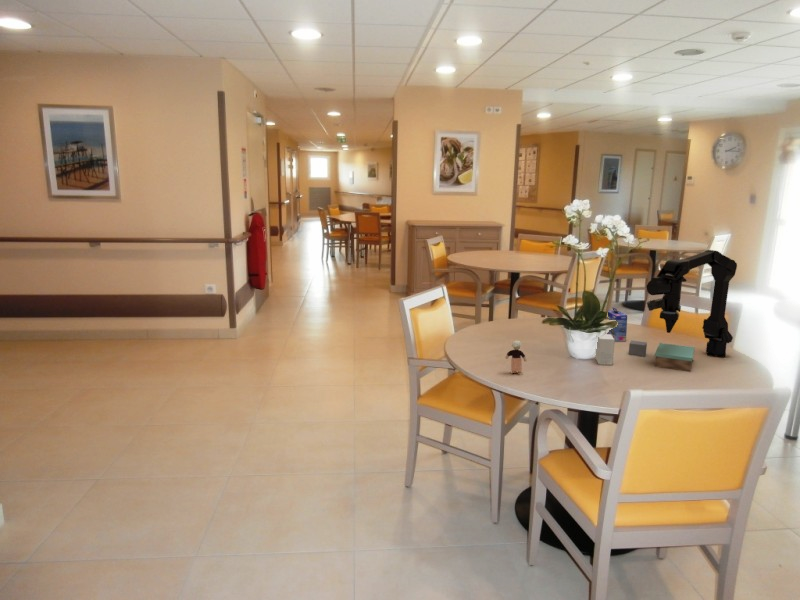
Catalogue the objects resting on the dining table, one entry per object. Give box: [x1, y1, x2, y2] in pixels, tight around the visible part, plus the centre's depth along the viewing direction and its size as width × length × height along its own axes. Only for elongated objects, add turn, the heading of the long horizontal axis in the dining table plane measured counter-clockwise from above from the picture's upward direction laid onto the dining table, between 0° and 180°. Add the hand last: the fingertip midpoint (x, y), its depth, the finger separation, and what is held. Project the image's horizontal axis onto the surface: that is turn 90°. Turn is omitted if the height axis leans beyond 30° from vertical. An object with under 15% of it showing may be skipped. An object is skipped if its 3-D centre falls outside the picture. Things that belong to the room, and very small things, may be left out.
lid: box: [654, 342, 695, 362], centre depth 207 cm, size 13×16×1 cm
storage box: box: [654, 356, 693, 372], centre depth 208 cm, size 12×16×4 cm
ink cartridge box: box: [607, 307, 628, 342], centre depth 241 cm, size 10×6×14 cm, turn 5°
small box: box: [594, 333, 615, 366], centre depth 209 cm, size 8×6×10 cm
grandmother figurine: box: [504, 340, 527, 375], centre depth 197 cm, size 8×4×13 cm, turn 80°
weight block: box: [628, 340, 648, 358], centre depth 219 cm, size 6×5×5 cm
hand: (668, 332), depth 206 cm, fingers closed
